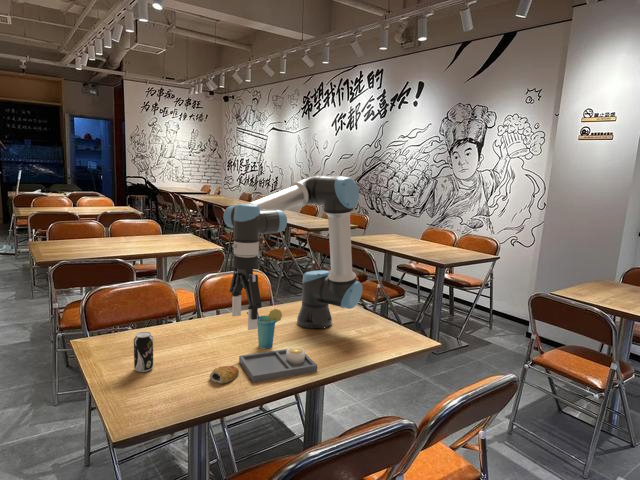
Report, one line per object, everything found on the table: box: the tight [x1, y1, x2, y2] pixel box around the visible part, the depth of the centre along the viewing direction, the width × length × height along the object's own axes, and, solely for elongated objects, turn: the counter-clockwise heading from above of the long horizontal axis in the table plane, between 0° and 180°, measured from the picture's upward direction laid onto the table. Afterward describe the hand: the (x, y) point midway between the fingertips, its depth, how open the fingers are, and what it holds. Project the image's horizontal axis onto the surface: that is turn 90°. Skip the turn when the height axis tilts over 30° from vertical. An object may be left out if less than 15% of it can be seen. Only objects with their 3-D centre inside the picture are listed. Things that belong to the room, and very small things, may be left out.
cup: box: [246, 308, 283, 350], centre depth 164 cm, size 14×8×15 cm, turn 125°
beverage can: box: [133, 331, 154, 373], centre depth 142 cm, size 6×6×12 cm
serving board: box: [238, 346, 318, 383], centre depth 149 cm, size 16×22×5 cm
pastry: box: [208, 365, 239, 385], centre depth 140 cm, size 9×7×4 cm
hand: (244, 322), depth 138 cm, fingers open, 13 cm apart
